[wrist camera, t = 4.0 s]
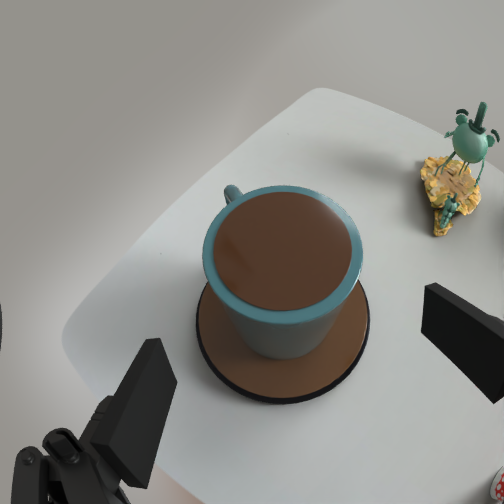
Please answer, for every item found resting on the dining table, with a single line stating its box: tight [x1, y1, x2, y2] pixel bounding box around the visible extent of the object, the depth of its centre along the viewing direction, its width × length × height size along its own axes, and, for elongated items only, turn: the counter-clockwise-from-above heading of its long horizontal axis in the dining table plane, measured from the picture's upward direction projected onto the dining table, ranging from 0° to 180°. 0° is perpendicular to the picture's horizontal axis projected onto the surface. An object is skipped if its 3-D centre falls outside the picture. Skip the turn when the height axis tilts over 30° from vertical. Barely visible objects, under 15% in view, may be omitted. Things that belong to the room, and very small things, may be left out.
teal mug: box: [199, 185, 367, 398], centre depth 18 cm, size 14×14×11 cm
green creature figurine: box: [420, 102, 500, 236], centre depth 24 cm, size 10×18×15 cm, turn 128°
